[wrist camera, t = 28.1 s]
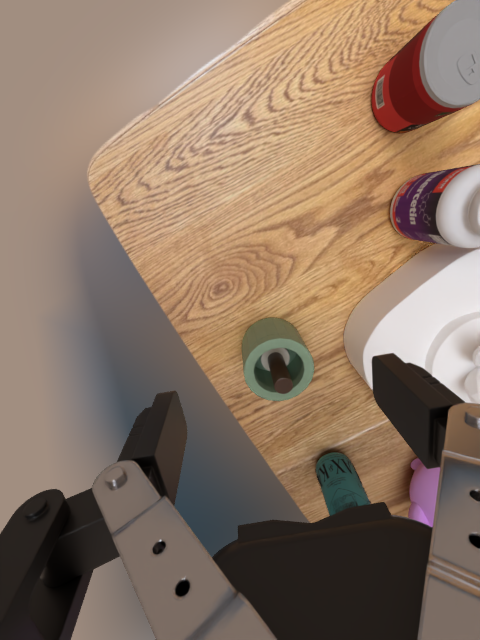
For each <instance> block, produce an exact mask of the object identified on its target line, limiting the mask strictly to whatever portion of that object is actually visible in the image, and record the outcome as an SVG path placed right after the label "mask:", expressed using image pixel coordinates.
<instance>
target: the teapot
mask: <svg viewBox="0 0 480 640" xmlns="http://www.w3.org/2000/svg"><path fill="white" fill-rule="evenodd" d="M411 468H412V469H414V470H415V472H414V474H413V477H412V480H411V484H410V492H409V493H410V500H411V503H412V504H411V506H410V508H409V514H408V516H409V518H410V519H414V520H417V521H419V522H422V523H424V524H427V525H429V526H431V527H433V521H434V513H435V505H436V497H437V489H438V481H439V474H440V467H438V468H432V469H427V468H426V467H425V466H424V464H423V463H422V462H421V461H420V459H419V458H417V459H415V460H413V461H412V463H411Z"/></svg>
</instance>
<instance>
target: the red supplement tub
mask: <svg viewBox="0 0 480 640" xmlns="http://www.w3.org/2000/svg"><path fill="white" fill-rule="evenodd" d="M479 99H480V0H456V1H454V2H452V3H451V4H450V5H448V6H447V7H446V8H444V9H443V10H442V11H441V12H440V13H439V14H438V15H437V16H435V17H434V18H433V19H432V20H431V21H430V22H429V23H428V24H427V25H426V26H425V27H424V28H423V29H422V30H421V31H420V32H418V33H417V34H416V35H415V36H414V37H413V38H412V39H411V40H410V41H409V42H408V43H407V44H406V45H405V46H404V47H403V48H402V49H401V50H400V51H399V52H398V53H397V54H396V55H395V56H393V57H392V58H391V59H390V60H389V61H388V62H387V63H386V64H385V65H384V67H383V68H382V69H381V71H380V72H379V74H378V76H377V78H376V81H375V84H374V87H373V91H372V99H371V103H372V110H373V113H374V116H375V118H376V119H377V121H378V122H379V124H380V125H381V126H382V127H384V128H385V129H387V130H389V131H392V132H397V133H405V132H409V131H412V130H415V129H417V128H419V127H421V126H424V125H426V124H428V123H431V122H433V121H435V120H438V119H440V118H442V117H444V116H447V115H449V114H451V113H454V112H456V111H458V110H461V109H463V108H464V107H467V106H469V105H471V104H473V103H475V102H477V101H478V100H479Z"/></svg>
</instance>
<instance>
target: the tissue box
mask: <svg viewBox="0 0 480 640" xmlns="http://www.w3.org/2000/svg"><path fill="white" fill-rule="evenodd" d="M344 347H345V351H346V354H347V357H348V359H349V361H350V363H351V364H352V365H353V367H354V368H355V369H356V371H357V372H358V373H359V374H360V376H361V377H362V378H363V379H364V381H365V382H366V383H367V384H368V386H369V387H370V388H371V389H372V391H373V383H372V358H373V356H377V355H383V354H388V353H394V354H395V355H397V356H398V357H399V358H400V359H401V360H402V361H404V362H405V363H412V364H415V365H417V366H420V367H422V368H424V369H425V370H426V371H427V372H429V373H430V374H431V375H432V377H435V378H436V379H437V380H439V381H440V383H442V384H444V385H445V386H446V387H447V388H448V389H450V390H451V391H452V392H453V393H455V394H456V395H457V396H458V397H460V398H461V399H462V400H463V401H465V402H466V403H477V404H480V247H476V248H462V247H455V246H450V245H444V244H438V243H436V244H434V245H431V246H429V247H427V248H425V249H424V250H422V251H420V252H419V253H418V254H416V255H415V256H413V257H412V258H411V259H410V260H408V261H407V262H406V263H405V264H403V265H402V266H401V267H400V268H398V269H397V270H396V271H395V272H394V273H392V274H391V275H390V276H389V277H387V278H386V279H385V280H384V281H382V282H381V283H380V284H379V285H378V286H376V287H375V288H374V289H373V290H371V291H370V292H369V293H368V294H367V295H366V296H365V297H363V298H362V299H361V301H360V302H359V303H358V304H357V305H356V307H355V308H354V309H353V311H352V313H351V315H350V316H349V319H348V321H347V323H346V326H345V329H344Z"/></svg>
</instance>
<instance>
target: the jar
mask: <svg viewBox="0 0 480 640" xmlns="http://www.w3.org/2000/svg"><path fill="white" fill-rule="evenodd" d="M275 348H287V351H288V353H289V356H290V360H289V363H288V365H287V369H288V372H289V375H290V377H291V380H292V383H293V388H292V390H291V391H290V392H289V393H286V394H280V393H278V392H277V391H276V390H275V388H274V384H273V380H272V376H271V372H270V371H268V370H267V369H265V368H264V367H263V365H262V363H261V359H260V356H261V355H262V354H263V353H265V352H267V351H269V350H271V349H275ZM242 359H243V370H244V377H245V381H246V383H247V385H248V386H249V388H250V389H251V391H253V392H254V393H255V394H256V395H257V396H259V397H262V398H264V399H267V400H272V401H282V400H288V399H291V398H293V397H295V396H297V395H298V394H300V393H301V392H302V391H304V390H305V389H306V388H307V386H308V385H309V383H310V382H311V380H312V377H313V373H314V362H313V358H312V356H311V354H310V352H309V350H308V349H307V347H306V345H305V343H304V342H303V340H302V338H301V336H300V335H299V333H298V331H297V329H296V328H295V327H294V326H293V325H292V324H291V323H289V322H287V321H286V320H283V319H280V318H265V319H262V320H259V321H257V322H256V323H254V324H253V325H252V326H250V327H249V329H248V330H247V331H246V333H245V335H244V337H243V340H242Z"/></svg>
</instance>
